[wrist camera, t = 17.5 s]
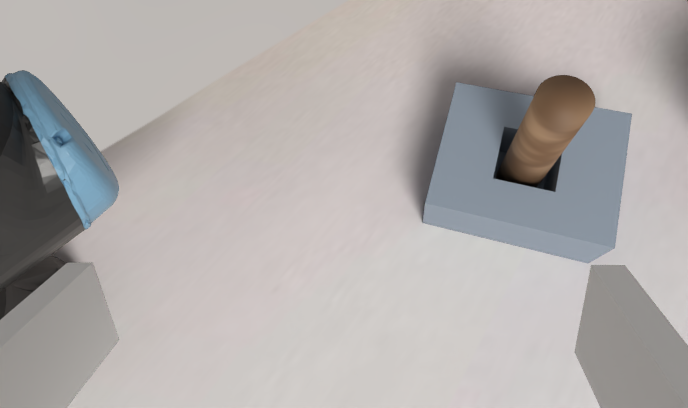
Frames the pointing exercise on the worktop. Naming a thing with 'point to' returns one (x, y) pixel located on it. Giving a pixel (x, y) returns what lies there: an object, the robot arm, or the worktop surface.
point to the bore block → (524, 201)
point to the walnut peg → (547, 129)
